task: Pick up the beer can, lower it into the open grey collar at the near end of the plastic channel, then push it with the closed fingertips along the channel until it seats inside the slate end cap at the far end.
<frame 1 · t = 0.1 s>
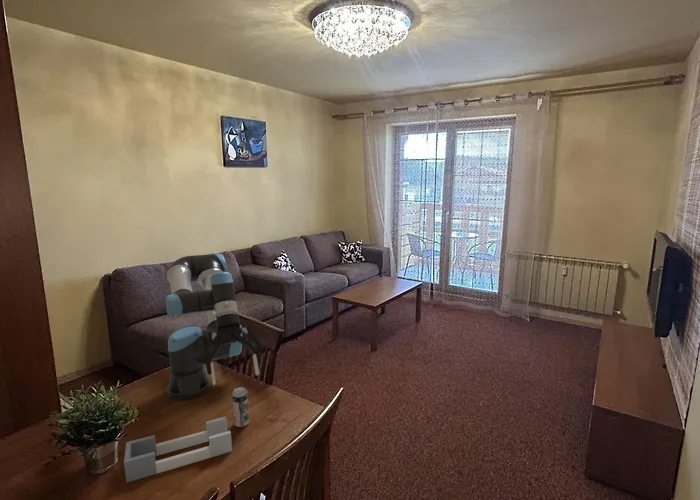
hand: (236, 379, 125), 15 cm above the table, tool tilted 35°, fingers open, 13 cm apart
beer can: (241, 424, 127), on the table
end-cap channel: (187, 454, 113), on the table
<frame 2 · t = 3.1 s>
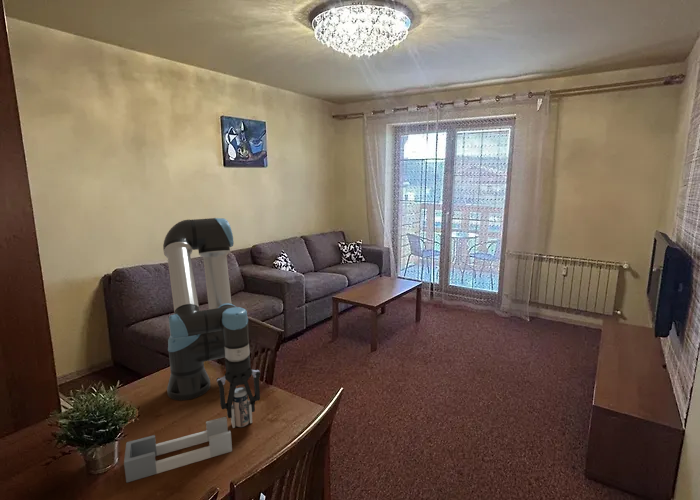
hand: (241, 422, 127), 0 cm above the table, tool pointing down, fingers closed on beer can, 5 cm apart
beer can: (241, 424, 127), on the table, touching gripper
everything else where it was.
when the fingers open (2 cm above the table, at t = 7.4 s): beer can drops 1 cm, on the table.
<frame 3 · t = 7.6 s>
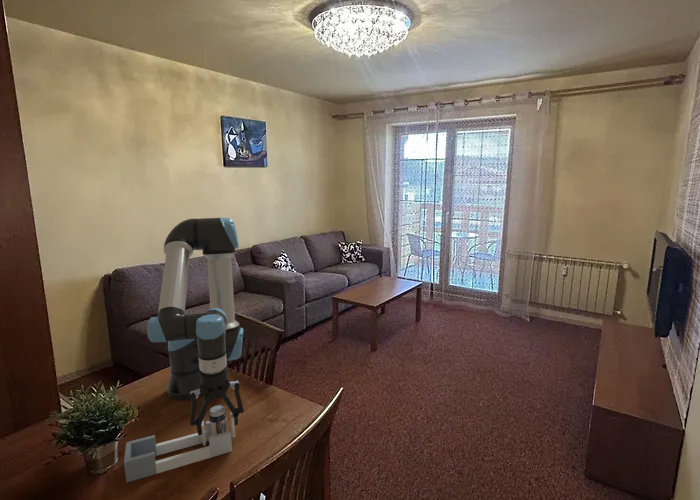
hand: (219, 438, 117), 2 cm above the table, tool pointing down, fingers open, 8 cm apart
beer can: (219, 445, 117), on the table
everything else where it was.
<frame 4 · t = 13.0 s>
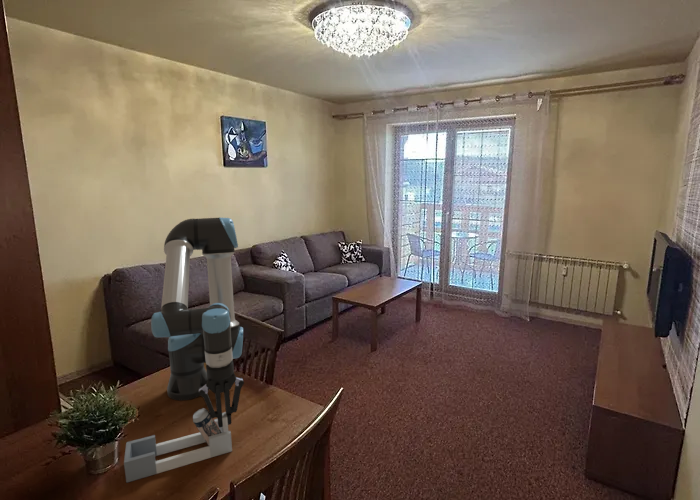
hand: (225, 434, 118), 3 cm above the table, tool pointing down, fingers closed
beer can: (217, 443, 117), point 1 cm above the table, touching gripper
everything else where it was.
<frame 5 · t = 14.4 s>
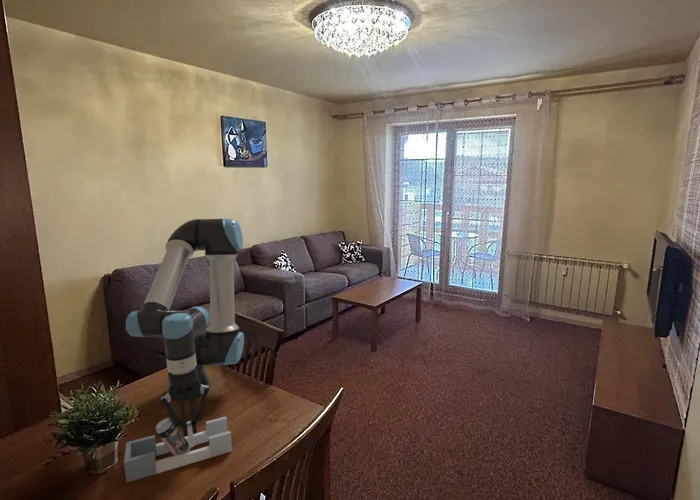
hand: (191, 444, 113), 3 cm above the table, tool pointing down, fingers closed
beer can: (184, 454, 113), point 1 cm above the table, touching gripper, hand
everything else where it was.
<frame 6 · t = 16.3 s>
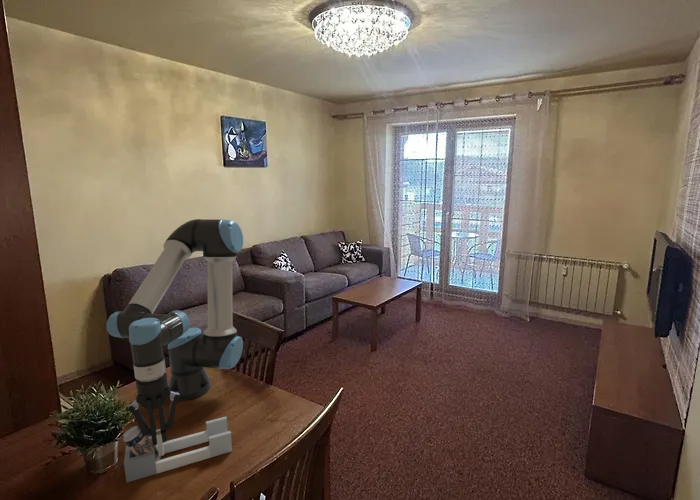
hand: (161, 452, 110), 3 cm above the table, tool pointing down, fingers closed
beer can: (153, 463, 109), point 1 cm above the table, touching gripper, hand
everything else where it was.
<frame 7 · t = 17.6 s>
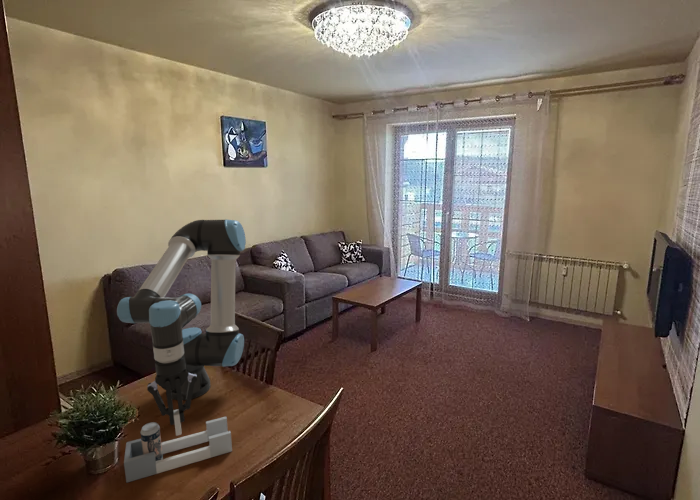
hand: (178, 432, 112), 7 cm above the table, tool pointing down, fingers closed
beer can: (154, 465, 109), on the table
everything else where it was.
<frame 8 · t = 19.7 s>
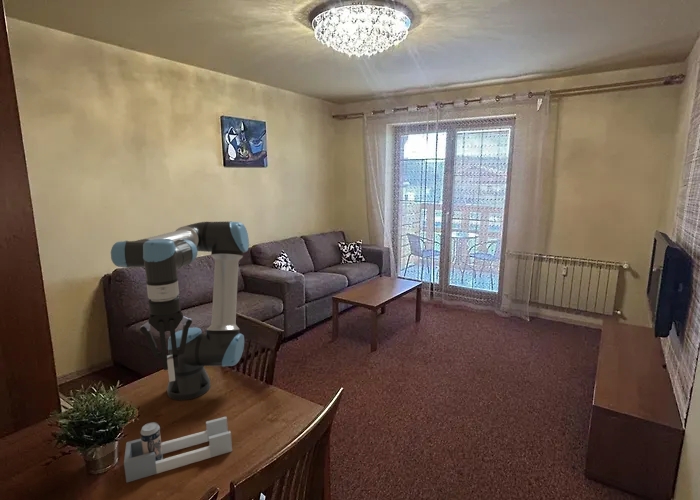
hand: (172, 378, 108), 24 cm above the table, tool pointing down, fingers closed
nothing on the table moved.
at the end: beer can inside the target area (2.3 cm from its centre), on the table; beer can tilted 0°; the gripper is holding nothing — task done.
